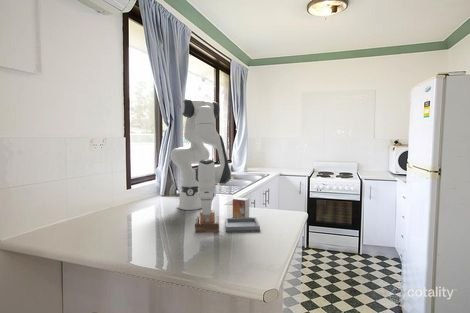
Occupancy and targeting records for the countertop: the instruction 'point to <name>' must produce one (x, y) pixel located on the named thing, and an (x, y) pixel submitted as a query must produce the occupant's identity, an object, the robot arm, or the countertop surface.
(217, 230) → the walnut bay
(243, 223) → the grey tray
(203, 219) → the tan wooden block
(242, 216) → the small box
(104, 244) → the countertop surface
